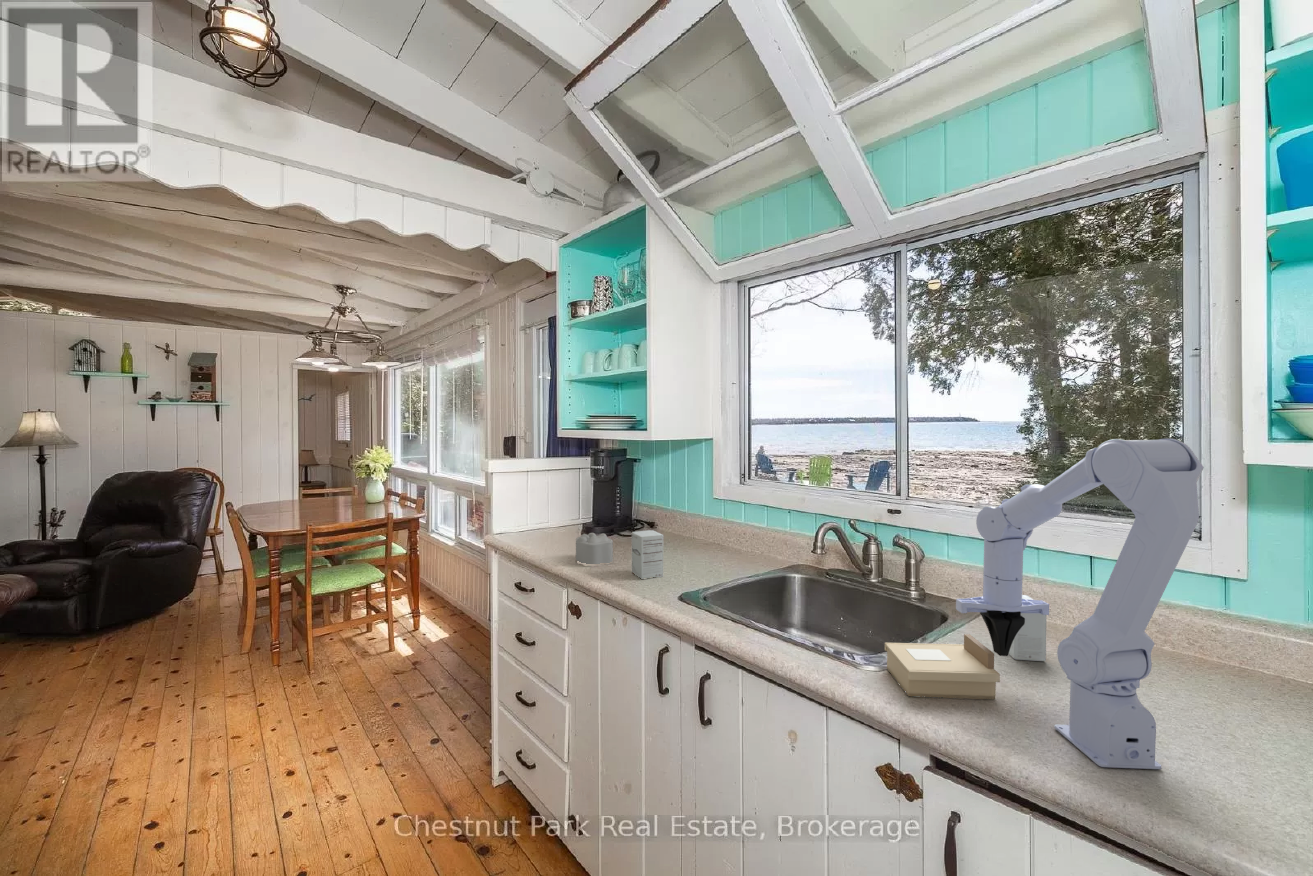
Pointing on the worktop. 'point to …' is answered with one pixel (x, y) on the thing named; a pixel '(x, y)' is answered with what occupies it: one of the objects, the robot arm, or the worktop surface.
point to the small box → (1030, 638)
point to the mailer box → (939, 685)
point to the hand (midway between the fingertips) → (1000, 653)
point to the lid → (946, 661)
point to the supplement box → (647, 554)
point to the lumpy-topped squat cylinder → (594, 549)
